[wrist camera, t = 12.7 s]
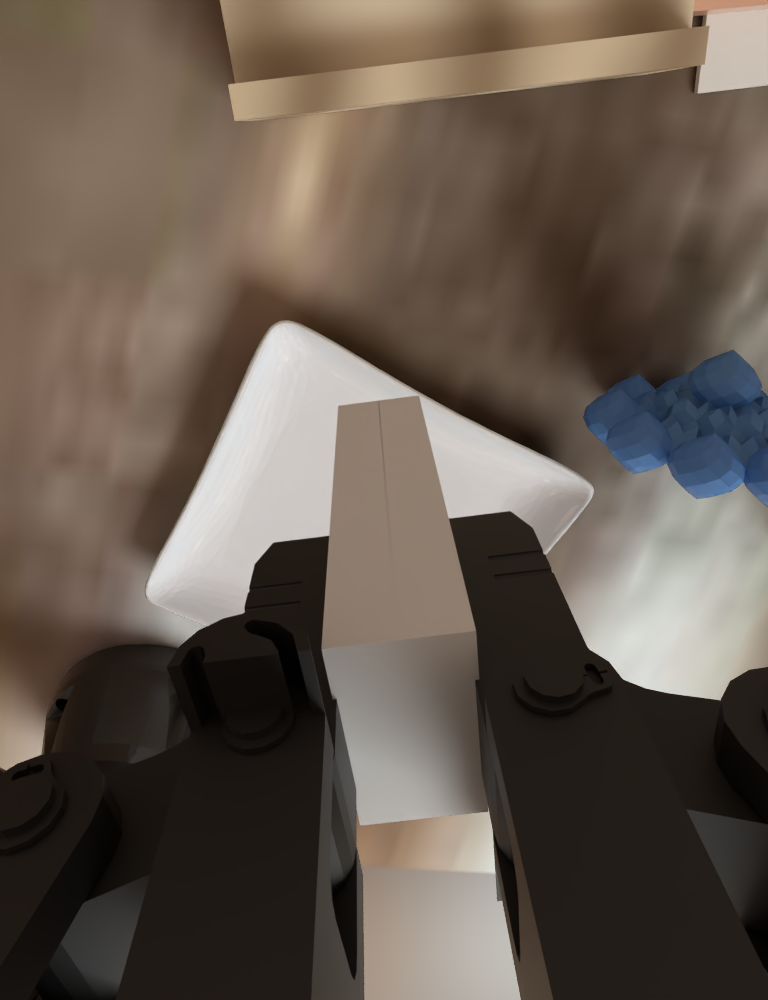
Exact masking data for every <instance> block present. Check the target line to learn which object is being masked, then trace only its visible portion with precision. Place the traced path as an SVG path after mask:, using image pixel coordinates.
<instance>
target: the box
mask: <svg viewBox="0 0 768 1000" xmlns="http://www.w3.org/2000/svg"><path fill="white" fill-rule="evenodd" d="M694 1H695V0H220V4H221V9H222V15H223V20H224V25H225V31H226V36H227V42H228V47H229V53H230V58H231V64H232V69H233V74H234V80H235V84H228V87H229V93H230V98H231V103H232V109H233V114H234V119H235V121H263V120H271V119H280V118H288V117H296V116H305V115H313V114H322V113H330V112H338V111H347V110H355V109H363V108H372V107H380V106H388V105H397V104H405V103H413V102H422V101H430V100H438V99H447V98H455V97H463V96H472V95H480V94H489V93H497V92H505V91H514V90H522V89H530V88H539V87H547V86H555V85H564V84H572V83H580V82H589V81H597V80H605V79H614V78H622V77H630V76H639V75H646V74H652V73H657V72H663V71H669V70H675V69H681V68H687V67H693V66H699V65H704V64H705V59H706V50H707V42H708V34H709V26H710V25H709V26H701V27H693V28H692V19H693V10H694Z"/></svg>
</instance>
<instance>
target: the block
mask: <svg viewBox="0 0 768 1000" xmlns="http://www.w3.org/2000/svg"><path fill="white" fill-rule="evenodd" d="M757 10H768V0H695V1H694V10H693V16H701V15H712V14H723V13H734V12H745V11H757Z"/></svg>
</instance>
